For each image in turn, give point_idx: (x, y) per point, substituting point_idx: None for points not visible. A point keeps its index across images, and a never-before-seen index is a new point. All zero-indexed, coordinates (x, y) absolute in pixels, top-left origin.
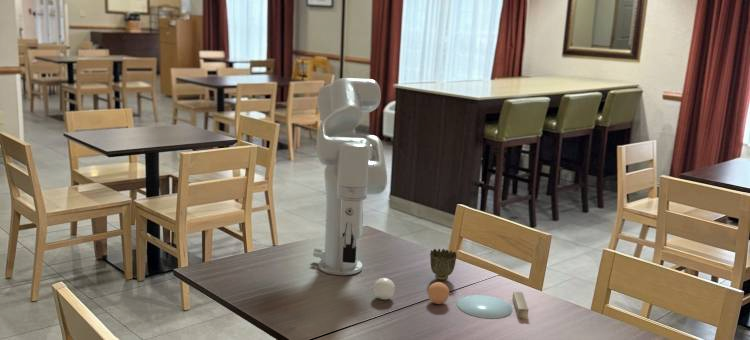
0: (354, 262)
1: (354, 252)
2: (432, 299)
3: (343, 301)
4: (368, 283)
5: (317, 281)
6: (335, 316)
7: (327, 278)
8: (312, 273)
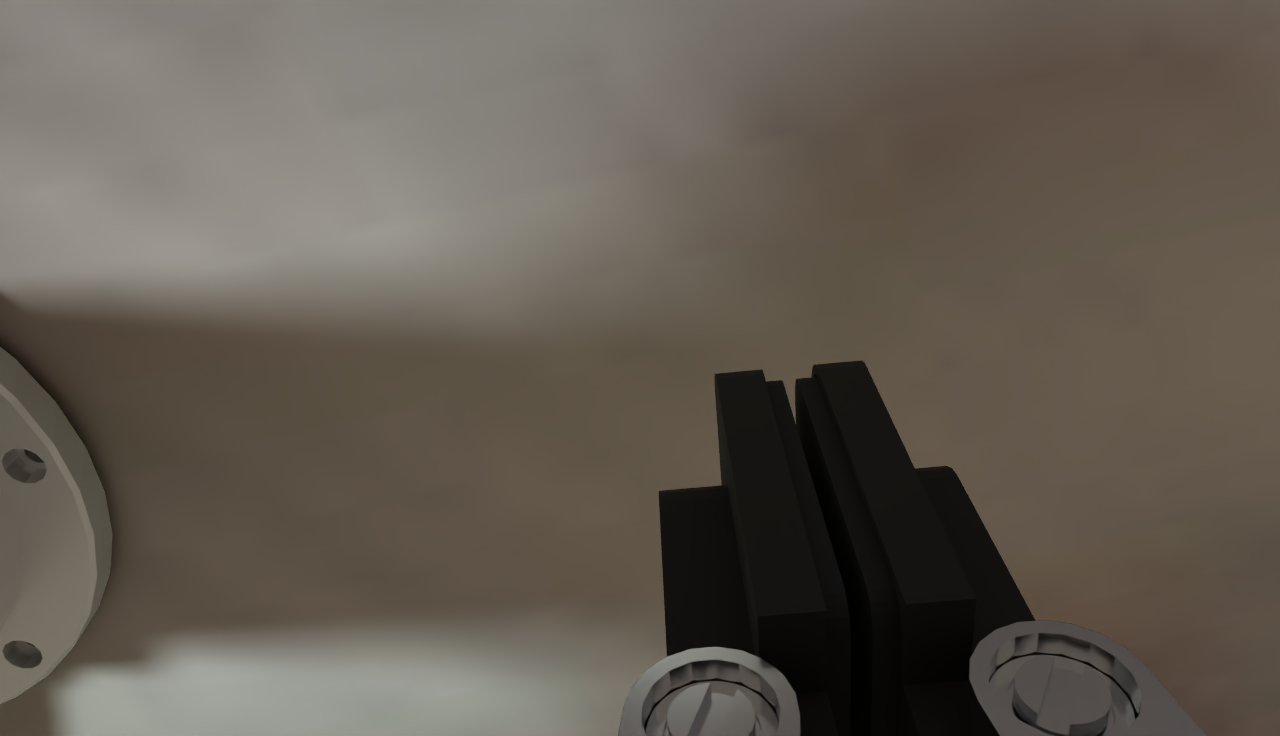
0: (860, 365)
1: (929, 525)
2: None
3: (845, 228)
4: (129, 34)
5: (373, 602)
6: (1277, 220)
7: (239, 538)
8: (184, 690)
